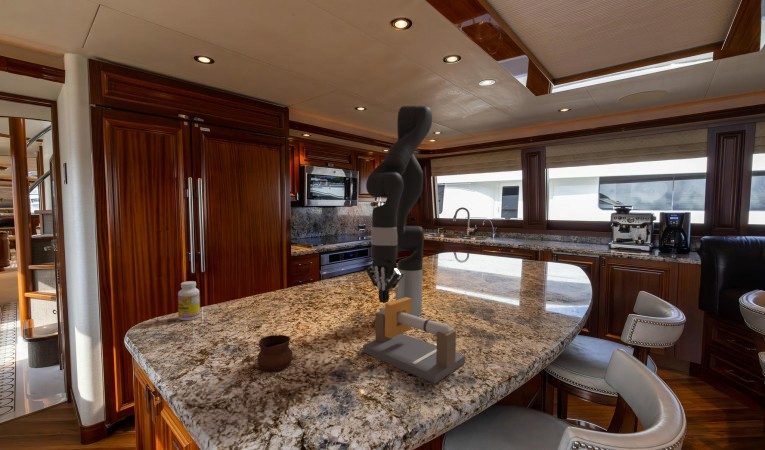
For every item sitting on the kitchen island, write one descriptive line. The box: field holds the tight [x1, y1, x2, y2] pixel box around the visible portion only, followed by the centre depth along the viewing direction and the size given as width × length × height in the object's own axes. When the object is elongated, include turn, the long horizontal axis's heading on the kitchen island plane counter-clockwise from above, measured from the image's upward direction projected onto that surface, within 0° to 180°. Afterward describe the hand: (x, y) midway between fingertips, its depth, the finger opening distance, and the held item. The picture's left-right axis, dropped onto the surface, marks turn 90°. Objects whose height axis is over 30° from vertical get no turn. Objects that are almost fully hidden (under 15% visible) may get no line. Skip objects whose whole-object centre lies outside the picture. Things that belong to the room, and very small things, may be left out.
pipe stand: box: [362, 306, 466, 385], centre depth 90 cm, size 24×14×12 cm, turn 47°
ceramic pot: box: [237, 334, 293, 378], centre depth 86 cm, size 18×18×7 cm
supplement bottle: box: [177, 280, 201, 321], centre depth 119 cm, size 7×7×13 cm
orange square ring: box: [384, 297, 412, 338], centre depth 93 cm, size 2×9×9 cm, turn 137°
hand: (383, 302), depth 96 cm, fingers closed
